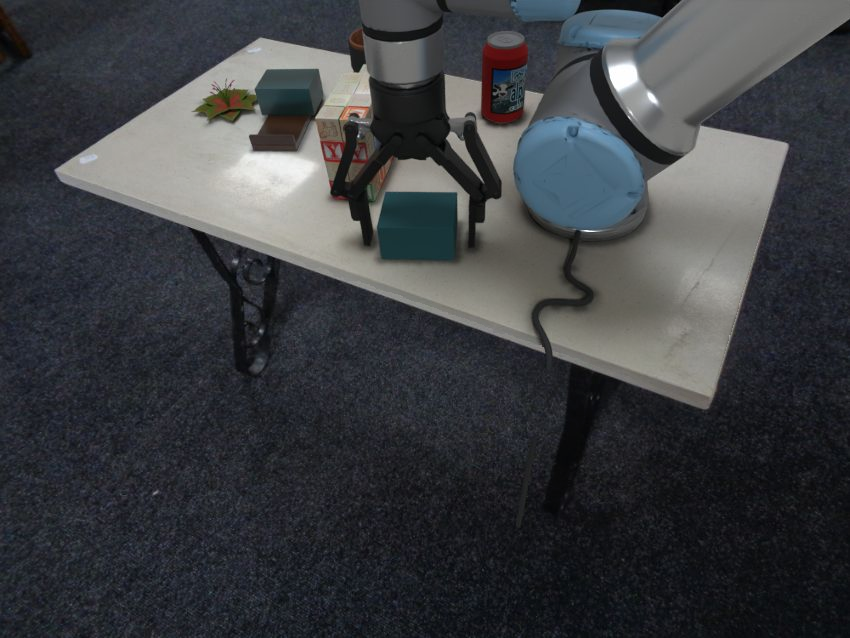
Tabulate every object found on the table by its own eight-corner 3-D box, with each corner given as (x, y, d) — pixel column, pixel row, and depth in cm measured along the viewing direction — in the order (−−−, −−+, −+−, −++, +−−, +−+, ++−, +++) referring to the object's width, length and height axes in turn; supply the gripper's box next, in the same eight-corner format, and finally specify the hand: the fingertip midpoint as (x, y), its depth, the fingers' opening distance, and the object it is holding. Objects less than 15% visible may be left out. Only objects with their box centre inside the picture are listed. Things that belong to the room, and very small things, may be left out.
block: (454, 260, 68) (453, 228, 64) (381, 258, 69) (376, 227, 65) (457, 224, 72) (457, 192, 68) (389, 222, 73) (385, 191, 69)
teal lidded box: (302, 151, 86) (294, 117, 82) (247, 150, 87) (236, 118, 83) (326, 97, 97) (320, 65, 93) (276, 97, 98) (268, 66, 94)
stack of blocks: (371, 120, 91) (360, 42, 82) (408, 122, 90) (402, 43, 81) (331, 199, 77) (313, 116, 68) (375, 202, 76) (362, 119, 67)
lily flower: (224, 86, 102) (215, 61, 99) (277, 97, 98) (270, 71, 95) (179, 118, 95) (168, 92, 92) (235, 130, 91) (226, 104, 88)
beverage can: (501, 131, 86) (505, 52, 77) (472, 115, 90) (472, 38, 81) (532, 115, 89) (539, 38, 80) (502, 100, 93) (506, 25, 84)
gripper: (532, 52, 55) (517, 222, 71) (293, 56, 58) (331, 219, 74) (535, 89, 50) (518, 262, 66) (273, 90, 53) (318, 257, 69)
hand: (419, 239), depth 70 cm, fingers open, 12 cm apart
